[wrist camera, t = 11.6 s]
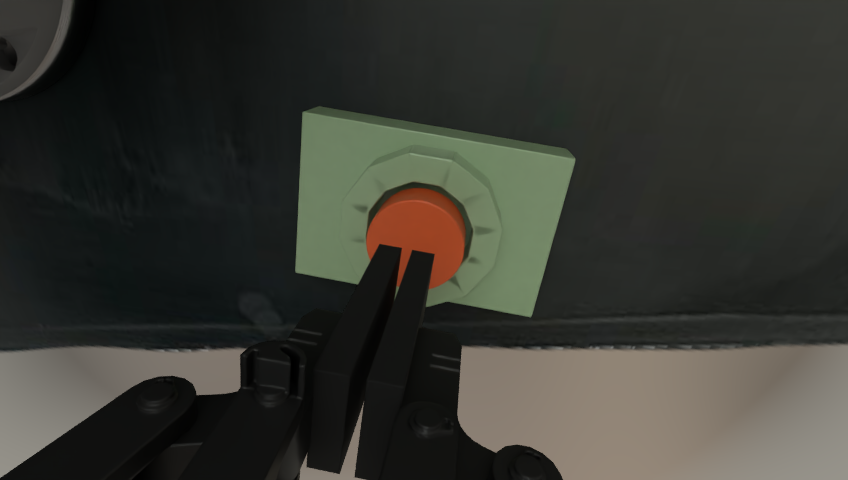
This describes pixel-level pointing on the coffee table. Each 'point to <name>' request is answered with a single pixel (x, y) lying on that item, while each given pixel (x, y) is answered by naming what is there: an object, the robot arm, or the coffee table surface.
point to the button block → (439, 171)
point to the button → (420, 231)
